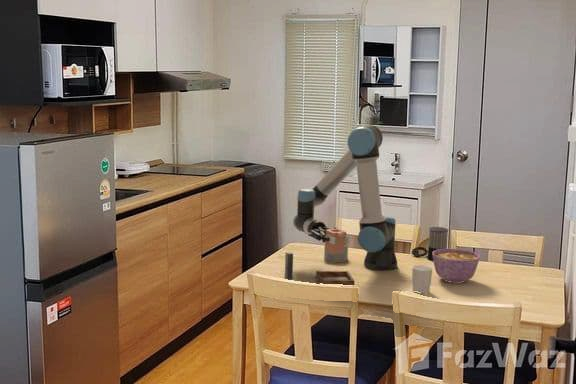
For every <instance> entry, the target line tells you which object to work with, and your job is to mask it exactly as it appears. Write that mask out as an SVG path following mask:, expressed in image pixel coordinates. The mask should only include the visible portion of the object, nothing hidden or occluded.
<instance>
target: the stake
mask: <svg viewBox="0 0 576 384" xmlns="http://www.w3.org/2000/svg"><path fill="white" fill-rule="evenodd" d="M284 255H285V260H284V261H285V262H284V263H285V264H284V265H285V266H284V267H285V268H284V270H285V271H284V278H285V279H286V278H287V279H286V280H291V279H293V277H294V276H293V274H294V271H293V269H294V253H293V252H285V254H284Z"/></svg>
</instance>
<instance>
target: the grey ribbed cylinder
mask: <svg viewBox="0 0 576 384" xmlns="http://www.w3.org/2000/svg"><path fill="white" fill-rule="evenodd" d="M428 231H429V232H428V250H427V248H425V247H423V246H417V247H414V248H413V249H412V250H411V254H412V255H413V256H415V257H418V258H419V257H425V256H426V255H427V256H426V259H427V258H428V260H429V259H430V261H431V262H432V261H433V255H432V253H433V251H435V250H438V249H448V248H447V247H448V234H449V233H448V231H449V229H448V228H446V227H441V226H432V227H431V226H430V227H429V228H428ZM420 250H421V251H423V252H424V253H420V254H419V252H420ZM433 262H434V261H433Z"/></svg>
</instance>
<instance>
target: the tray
mask: <svg viewBox="0 0 576 384" xmlns="http://www.w3.org/2000/svg"><path fill="white" fill-rule="evenodd" d="M315 278H316V280H317V282H318V284H319V283H323V284H343V285H354V286H355V280H354V277H353V276H352V274H351V273H350V271H348V270H335V271H334V270H324V271H323V270H321V271H320V270H316V272H315Z"/></svg>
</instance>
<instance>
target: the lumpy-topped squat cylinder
mask: <svg viewBox="0 0 576 384" xmlns="http://www.w3.org/2000/svg"><path fill="white" fill-rule="evenodd" d="M323 253H324V255H323V260H324V261H326V262H335V263H344V262H346V261H347V260H348V254H349V243H346V242H345V253H338V254H331V253H329V252H327V251H325V249H324V252H323Z"/></svg>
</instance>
